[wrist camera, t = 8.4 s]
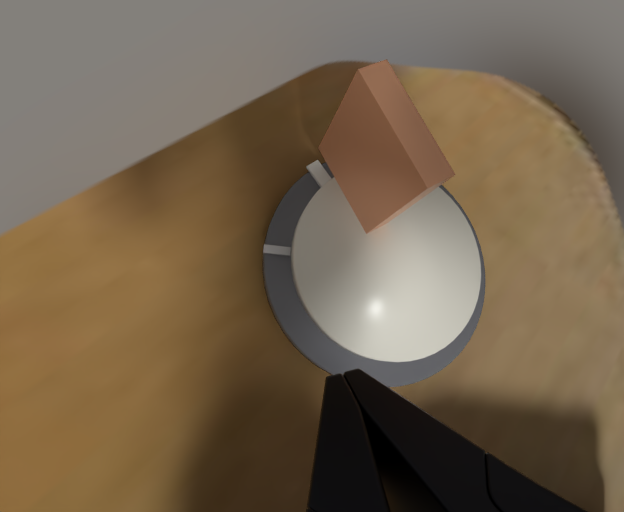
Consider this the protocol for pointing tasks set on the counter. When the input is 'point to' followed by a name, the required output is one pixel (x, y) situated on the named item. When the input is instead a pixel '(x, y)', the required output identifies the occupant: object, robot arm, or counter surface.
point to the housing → (300, 324)
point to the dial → (385, 231)
